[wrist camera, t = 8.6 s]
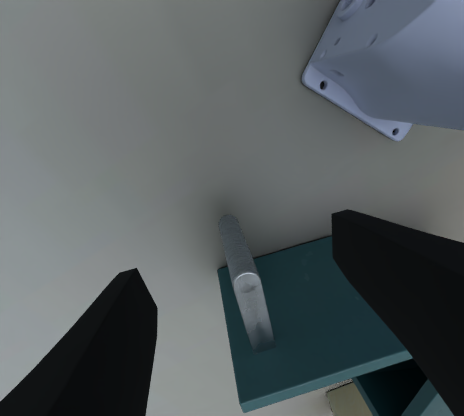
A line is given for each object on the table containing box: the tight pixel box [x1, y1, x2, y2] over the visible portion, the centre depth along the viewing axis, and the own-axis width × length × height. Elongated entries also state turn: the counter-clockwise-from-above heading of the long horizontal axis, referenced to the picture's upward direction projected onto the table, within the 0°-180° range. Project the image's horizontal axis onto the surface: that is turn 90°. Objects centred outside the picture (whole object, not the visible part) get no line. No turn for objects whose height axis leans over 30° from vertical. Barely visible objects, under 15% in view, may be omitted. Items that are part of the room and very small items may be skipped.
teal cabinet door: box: [218, 215, 413, 413], centre depth 16 cm, size 7×13×10 cm, turn 103°
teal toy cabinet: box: [352, 358, 454, 416], centre depth 21 cm, size 8×13×11 cm, turn 174°
